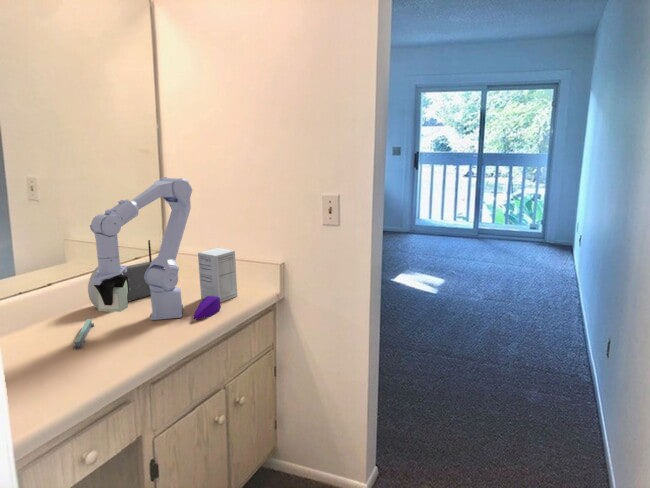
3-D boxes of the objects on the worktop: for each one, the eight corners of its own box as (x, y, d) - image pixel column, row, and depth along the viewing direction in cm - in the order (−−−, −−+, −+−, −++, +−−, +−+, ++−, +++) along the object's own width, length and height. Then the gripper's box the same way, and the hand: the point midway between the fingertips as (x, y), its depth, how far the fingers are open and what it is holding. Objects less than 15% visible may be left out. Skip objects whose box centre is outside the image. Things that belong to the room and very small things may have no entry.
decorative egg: (136, 303, 176) (133, 260, 173) (109, 313, 165) (104, 268, 162) (110, 299, 181) (106, 257, 178) (81, 309, 170) (76, 265, 167)
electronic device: (154, 291, 190) (150, 238, 186) (165, 294, 186) (161, 240, 182) (110, 302, 176) (105, 245, 172) (120, 305, 172) (115, 247, 168)
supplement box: (220, 292, 187) (217, 247, 184) (238, 296, 182) (236, 250, 178) (200, 299, 179) (196, 252, 176) (218, 303, 174) (215, 255, 171)
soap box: (128, 307, 150) (126, 287, 149) (120, 311, 146) (118, 291, 145) (105, 306, 151) (103, 287, 150) (98, 311, 147) (95, 291, 146)
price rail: (94, 325, 155) (93, 318, 155) (82, 348, 138) (81, 340, 137) (85, 326, 154) (84, 319, 154) (73, 349, 137) (72, 341, 137)
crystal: (186, 310, 156) (211, 291, 170) (188, 324, 158) (212, 305, 171) (200, 311, 155) (224, 292, 168) (202, 326, 156) (225, 306, 170)
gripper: (109, 250, 153) (113, 294, 155) (79, 262, 139) (84, 309, 141) (131, 251, 152) (135, 295, 154) (103, 262, 138) (108, 310, 140)
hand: (112, 302), depth 148 cm, fingers closed on soap box, 4 cm apart
